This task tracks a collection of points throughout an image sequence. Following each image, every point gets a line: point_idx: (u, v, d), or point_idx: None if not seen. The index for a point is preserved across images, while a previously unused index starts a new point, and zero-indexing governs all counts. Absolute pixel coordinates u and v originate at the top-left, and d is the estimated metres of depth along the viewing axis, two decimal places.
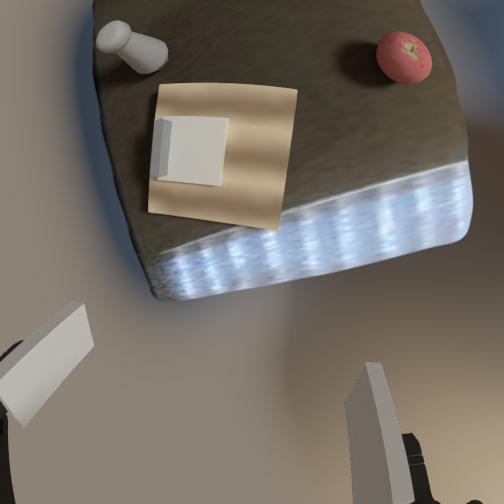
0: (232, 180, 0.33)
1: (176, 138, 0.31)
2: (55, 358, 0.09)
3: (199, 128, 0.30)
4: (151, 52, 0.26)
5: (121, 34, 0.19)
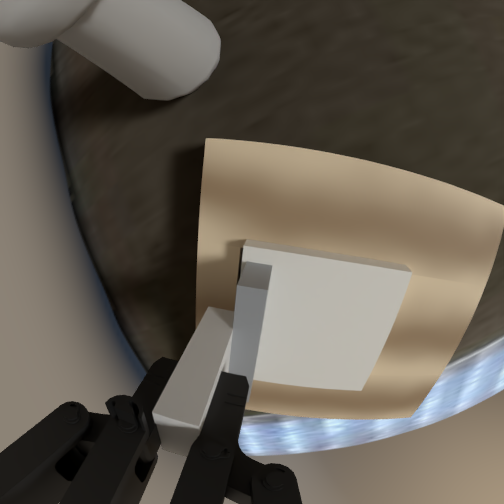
0: None
1: (282, 308, 0.13)
2: None
3: (345, 291, 0.13)
4: (182, 40, 0.08)
5: None
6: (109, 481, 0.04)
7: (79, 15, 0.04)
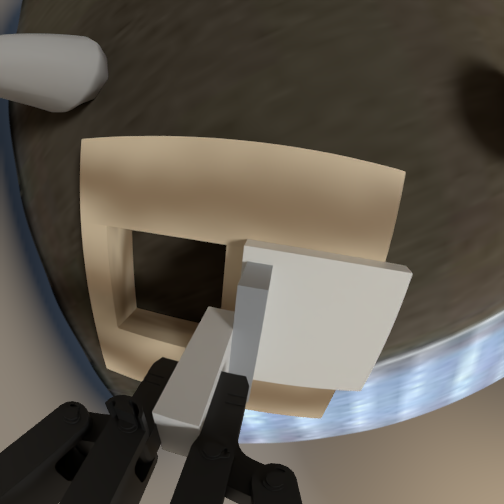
0: None
1: (282, 308, 0.13)
2: None
3: (345, 292, 0.13)
4: (55, 69, 0.09)
5: None
6: (109, 481, 0.04)
7: None
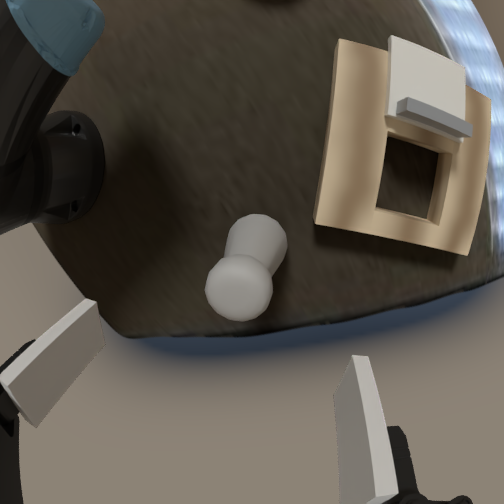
0: None
1: (418, 101, 0.18)
2: (68, 357, 0.09)
3: (406, 68, 0.17)
4: (263, 232, 0.22)
5: (247, 267, 0.16)
6: None
7: (267, 269, 0.18)
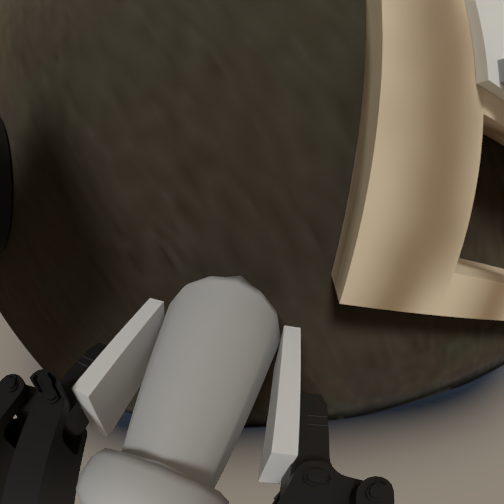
0: None
1: None
2: (139, 359, 0.10)
3: (496, 11, 0.04)
4: (224, 338, 0.09)
5: None
6: (41, 448, 0.04)
7: (211, 491, 0.05)
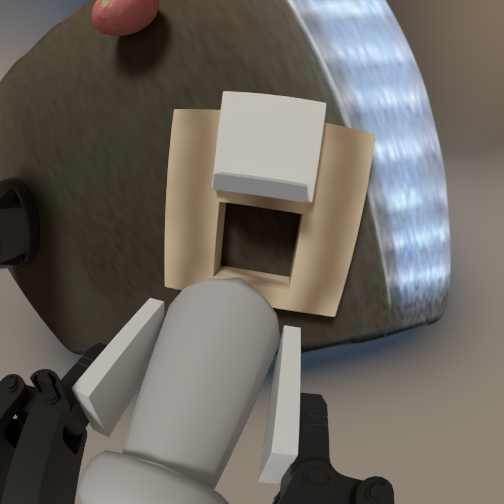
0: None
1: (249, 165, 0.22)
2: (139, 359, 0.10)
3: (236, 129, 0.21)
4: (224, 340, 0.09)
5: None
6: (41, 448, 0.04)
7: (211, 493, 0.05)
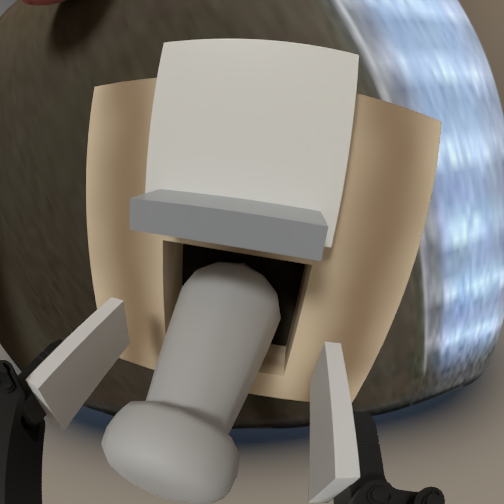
0: None
1: (207, 174, 0.11)
2: (96, 356, 0.10)
3: (184, 106, 0.10)
4: (232, 310, 0.11)
5: (166, 460, 0.05)
6: (3, 433, 0.04)
7: (223, 434, 0.06)
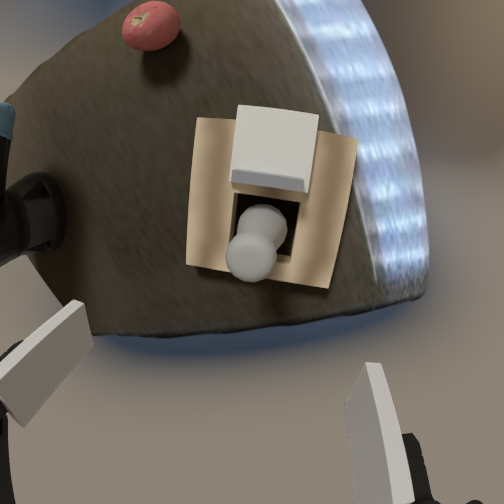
0: None
1: (258, 163, 0.28)
2: (55, 358, 0.09)
3: (248, 135, 0.27)
4: (268, 216, 0.28)
5: (257, 238, 0.22)
6: None
7: (272, 241, 0.23)
